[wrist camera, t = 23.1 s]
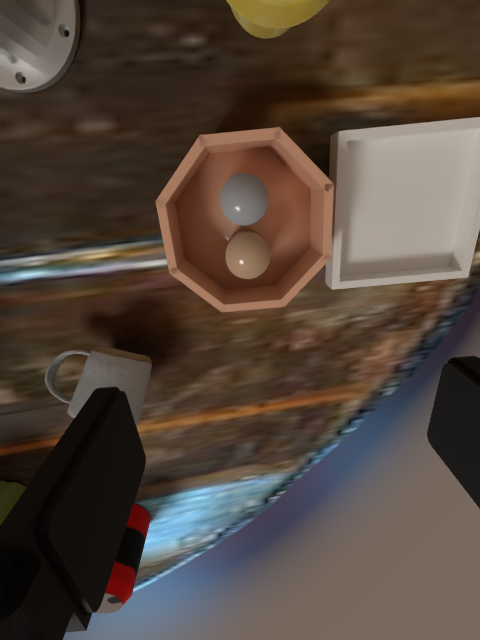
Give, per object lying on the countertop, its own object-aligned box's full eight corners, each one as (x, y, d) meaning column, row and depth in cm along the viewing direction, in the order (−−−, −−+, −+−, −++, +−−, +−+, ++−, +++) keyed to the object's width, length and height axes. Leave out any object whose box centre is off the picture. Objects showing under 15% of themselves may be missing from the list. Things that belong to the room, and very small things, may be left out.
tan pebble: (224, 230, 31) (223, 236, 28) (265, 227, 31) (269, 232, 28) (228, 270, 33) (227, 280, 29) (267, 267, 33) (271, 276, 29)
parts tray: (330, 135, 28) (338, 131, 26) (485, 120, 28) (507, 114, 26) (325, 282, 35) (331, 289, 32) (452, 271, 34) (467, 277, 32)
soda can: (158, 522, 53) (139, 609, 42) (122, 532, 54) (94, 620, 43) (137, 497, 50) (109, 583, 39) (99, 508, 51) (62, 596, 40)
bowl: (158, 148, 29) (143, 140, 24) (318, 132, 28) (336, 120, 23) (185, 298, 35) (177, 316, 30) (315, 286, 35) (329, 303, 30)
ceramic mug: (146, 353, 40) (164, 360, 33) (129, 413, 39) (144, 432, 32) (58, 334, 34) (60, 338, 28) (35, 404, 33) (31, 425, 27)
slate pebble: (219, 177, 29) (217, 175, 26) (262, 172, 29) (266, 170, 25) (224, 223, 31) (223, 227, 27) (265, 219, 31) (269, 223, 27)
